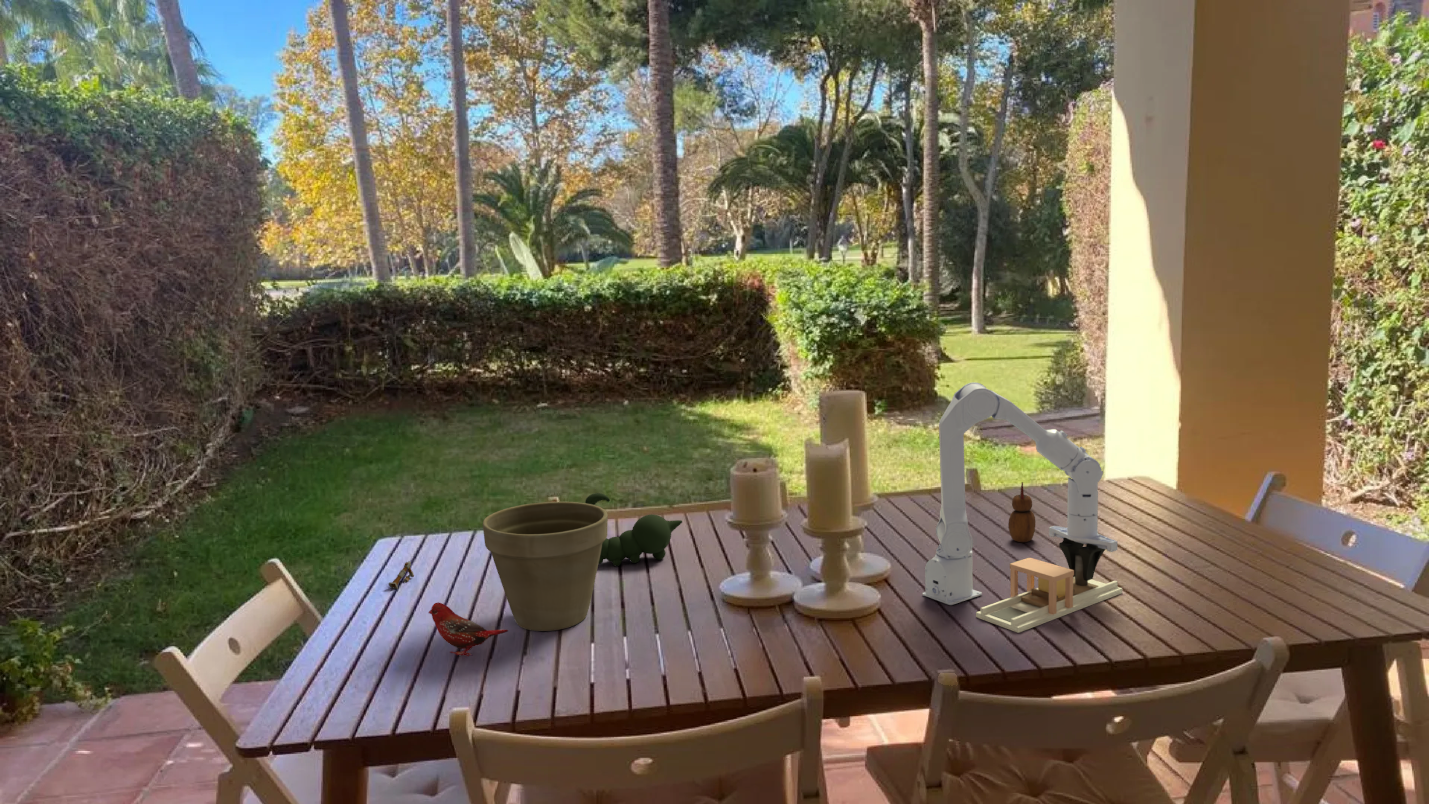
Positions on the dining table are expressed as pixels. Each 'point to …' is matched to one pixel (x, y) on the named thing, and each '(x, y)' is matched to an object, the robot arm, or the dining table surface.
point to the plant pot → (547, 560)
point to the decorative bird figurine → (459, 629)
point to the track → (1027, 615)
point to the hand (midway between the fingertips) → (1081, 577)
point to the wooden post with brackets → (401, 574)
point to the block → (1044, 586)
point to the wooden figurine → (1022, 518)
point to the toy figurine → (636, 537)
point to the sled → (1079, 586)
